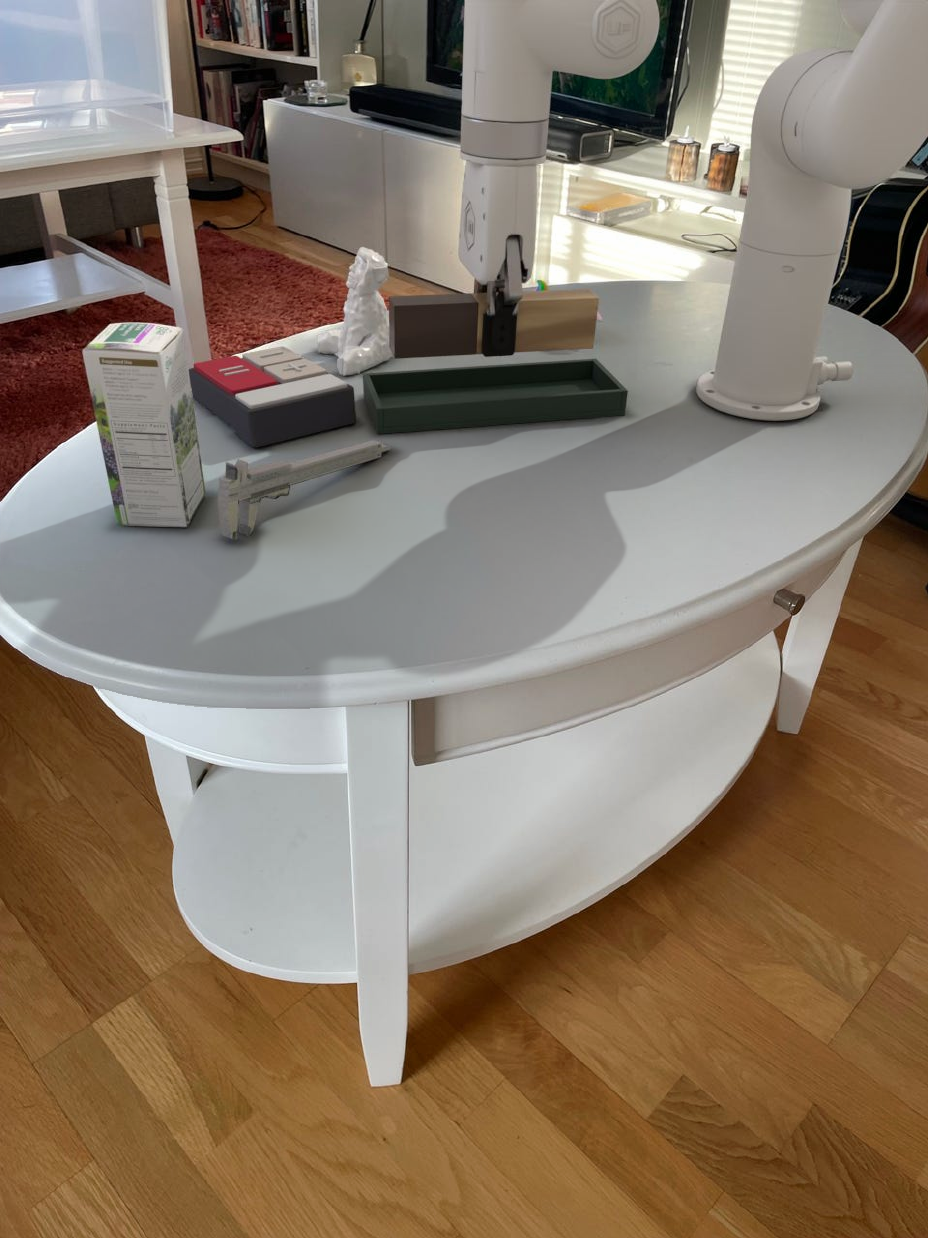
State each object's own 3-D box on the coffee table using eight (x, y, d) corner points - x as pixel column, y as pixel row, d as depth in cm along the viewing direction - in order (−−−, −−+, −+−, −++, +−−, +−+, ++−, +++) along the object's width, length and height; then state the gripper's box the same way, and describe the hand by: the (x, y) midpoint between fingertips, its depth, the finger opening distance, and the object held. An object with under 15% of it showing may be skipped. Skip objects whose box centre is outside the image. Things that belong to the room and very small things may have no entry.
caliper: (233, 546, 72) (222, 472, 68) (222, 542, 72) (212, 468, 68) (390, 451, 86) (388, 386, 82) (381, 449, 86) (379, 383, 83)
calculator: (284, 341, 98) (355, 379, 88) (289, 381, 101) (358, 422, 90) (185, 361, 93) (247, 403, 83) (192, 402, 95) (253, 448, 85)
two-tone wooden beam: (593, 348, 92) (599, 297, 89) (394, 358, 88) (394, 305, 85) (583, 338, 95) (588, 288, 92) (389, 348, 90) (388, 295, 87)
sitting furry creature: (312, 349, 107) (304, 240, 100) (381, 339, 110) (378, 233, 103) (342, 377, 100) (335, 262, 93) (414, 366, 103) (414, 254, 96)
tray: (593, 381, 101) (596, 358, 99) (625, 415, 94) (628, 390, 92) (363, 397, 96) (362, 373, 94) (377, 434, 89) (376, 408, 87)
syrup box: (139, 492, 78) (104, 320, 70) (209, 495, 78) (182, 322, 70) (116, 526, 73) (76, 346, 65) (191, 529, 73) (160, 349, 65)
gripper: (441, 125, 86) (438, 323, 97) (485, 157, 73) (476, 381, 84) (519, 125, 88) (507, 320, 99) (575, 157, 75) (555, 376, 86)
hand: (493, 346), depth 91 cm, fingers closed on two-tone wooden beam, 3 cm apart
